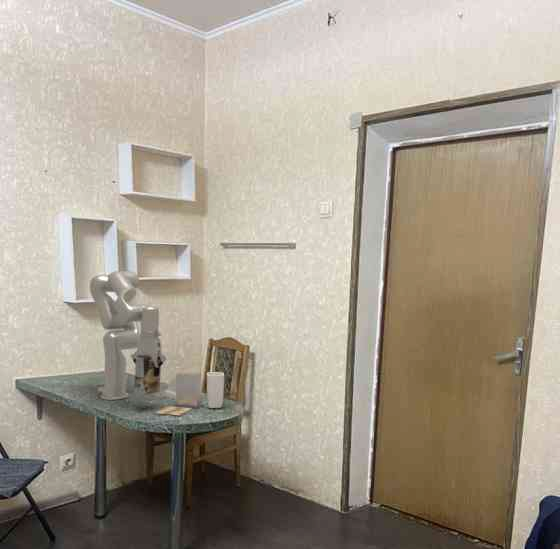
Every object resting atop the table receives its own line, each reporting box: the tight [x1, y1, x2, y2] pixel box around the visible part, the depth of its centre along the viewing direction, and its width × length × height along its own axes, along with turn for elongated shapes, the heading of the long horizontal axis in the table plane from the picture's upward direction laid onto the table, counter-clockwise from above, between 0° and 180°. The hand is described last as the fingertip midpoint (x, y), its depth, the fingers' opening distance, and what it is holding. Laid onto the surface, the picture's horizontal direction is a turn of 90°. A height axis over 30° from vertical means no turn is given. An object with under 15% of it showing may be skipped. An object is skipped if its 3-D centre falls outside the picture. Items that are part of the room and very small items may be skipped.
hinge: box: [163, 377, 176, 400], centre depth 233 cm, size 17×5×10 cm, turn 43°
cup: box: [206, 371, 225, 409], centre depth 214 cm, size 7×7×15 cm
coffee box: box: [133, 356, 162, 396], centre depth 210 cm, size 9×6×16 cm
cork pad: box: [153, 405, 192, 417], centre depth 206 cm, size 12×11×1 cm
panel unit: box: [172, 371, 204, 410], centre depth 215 cm, size 12×6×14 cm, turn 75°
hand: (147, 375), depth 210 cm, fingers closed on coffee box, 7 cm apart
